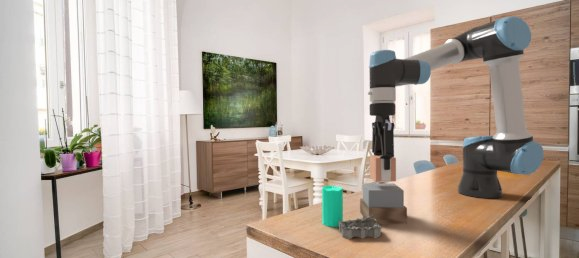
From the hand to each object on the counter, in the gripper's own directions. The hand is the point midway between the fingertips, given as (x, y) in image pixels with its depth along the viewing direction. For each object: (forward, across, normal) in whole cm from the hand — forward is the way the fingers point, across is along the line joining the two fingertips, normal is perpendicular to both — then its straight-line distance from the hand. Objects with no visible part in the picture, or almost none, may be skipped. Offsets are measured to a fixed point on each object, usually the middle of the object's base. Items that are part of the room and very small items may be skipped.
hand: (382, 178), depth 94 cm
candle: (+12, +4, -16) cm, 21 cm away
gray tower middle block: (+8, 0, 0) cm, 8 cm away
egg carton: (+13, +12, -10) cm, 20 cm away
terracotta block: (0, 0, 0) cm, 0 cm away
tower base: (+13, 0, 0) cm, 13 cm away
